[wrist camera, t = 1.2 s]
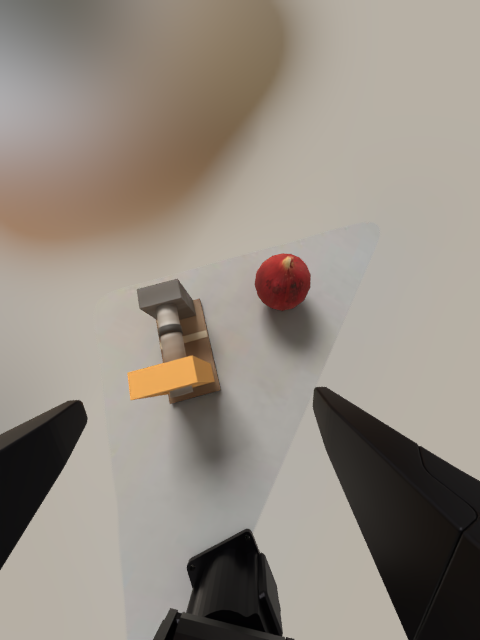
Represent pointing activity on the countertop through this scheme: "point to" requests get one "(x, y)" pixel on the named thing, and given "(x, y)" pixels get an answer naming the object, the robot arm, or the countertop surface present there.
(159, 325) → the pipe stand
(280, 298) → the onion
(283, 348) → the countertop surface
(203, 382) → the collar
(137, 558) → the countertop surface
